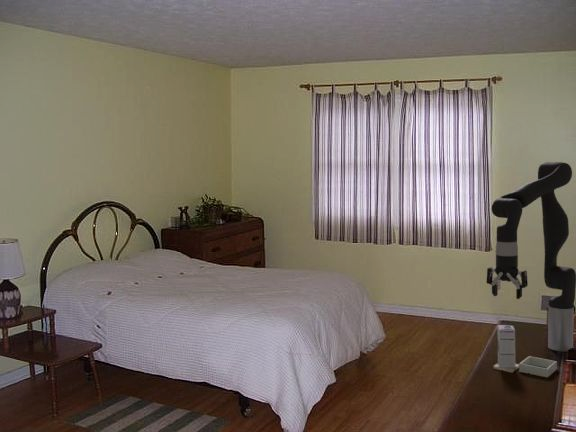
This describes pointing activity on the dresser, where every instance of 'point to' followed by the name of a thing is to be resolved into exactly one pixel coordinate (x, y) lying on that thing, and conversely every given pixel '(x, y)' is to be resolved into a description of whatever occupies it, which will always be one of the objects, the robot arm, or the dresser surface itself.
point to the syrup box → (506, 346)
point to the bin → (527, 368)
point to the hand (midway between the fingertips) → (506, 297)
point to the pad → (506, 368)
